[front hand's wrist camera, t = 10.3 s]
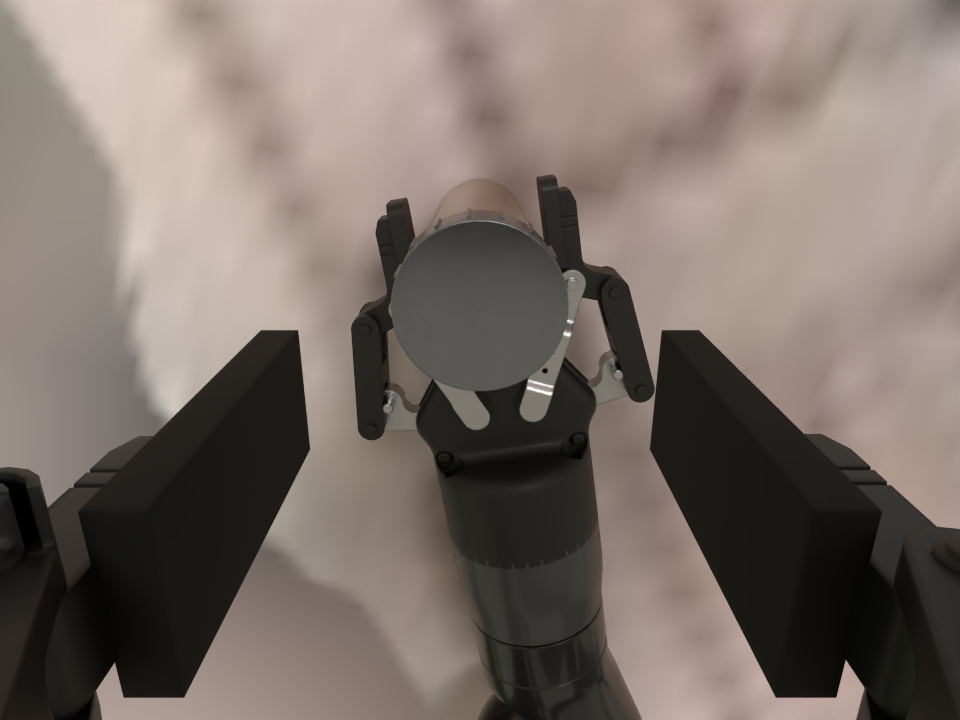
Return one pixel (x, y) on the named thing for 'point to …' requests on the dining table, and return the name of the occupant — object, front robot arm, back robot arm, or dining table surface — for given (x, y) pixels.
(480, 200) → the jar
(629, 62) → the dining table surface
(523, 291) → the lid
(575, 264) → the back robot arm
